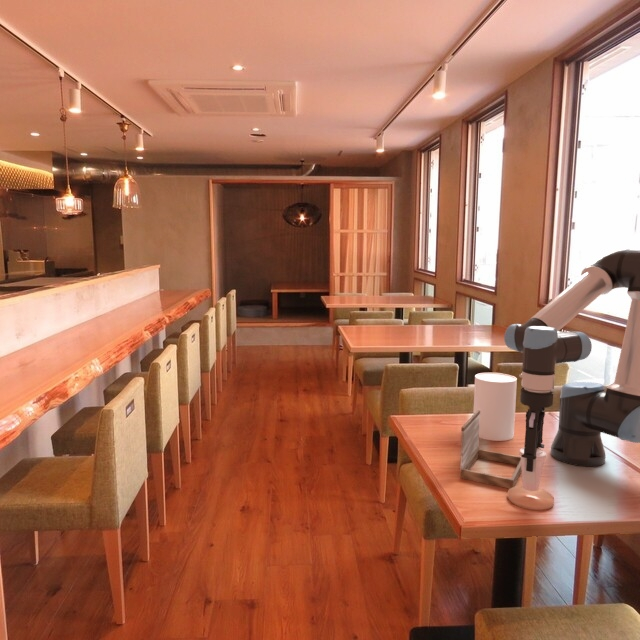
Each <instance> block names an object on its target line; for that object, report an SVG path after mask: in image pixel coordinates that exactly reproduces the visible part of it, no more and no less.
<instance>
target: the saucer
mask: <svg viewBox="0 0 640 640" xmlns="http://www.w3.org/2000/svg"><path fill="white" fill-rule="evenodd" d="M507 499H508V501H509V502H511V504H513V505H515V506H517V507H519V508H522V509H525V510H530V511H547V510H550V509H551V508H553V507H554V505H555V498H554V496H553V495H552V494H551V493H550V492H548V491H546V490H544V489H542V488H540V487H539V488H538V490H537V491H528V490H525V489H524V488H523V485H515V486H514V487H512V488H510V489H509V488H508V491H507Z"/></svg>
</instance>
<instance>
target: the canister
mask: <svg viewBox="0 0 640 640" xmlns="http://www.w3.org/2000/svg"><path fill="white" fill-rule="evenodd" d="M517 380H518V378H517V377H516V376H514V375H510V374H506V373H501V372H480V373H477V374H475V375H474V390H473V391H474V393H473V414H472V415H474V414H475V412H476V411H477V410H480V419H479V439H483V440H487V441H494V442H506V441H509V440H512V439H513V438H514V437H515V422H516V421H515V418H516V402H517V401H516V400H517V384H518V383H517V382H518V381H517Z"/></svg>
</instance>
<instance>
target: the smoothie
mask: <svg viewBox="0 0 640 640" xmlns="http://www.w3.org/2000/svg"><path fill="white" fill-rule="evenodd" d="M523 454H524V447H521V448H520V449H519V453H518V456H520V457H521V470H522V472H521V477H522V478H521V480H522V481H521V483H522V486H523V488H524V489H525V490H528V491H537V490H538V488H539V489H540V484H541V483H540V482H541V477H542V473H543V467H544V464H545V459H546V458H547V452H546V451H545V450H543V449H542V448H539V449H537V451H536V458H537V464H536V479H535V484H531V483H526V482H523V478H524V461H525V458H524V457H522V455H523Z"/></svg>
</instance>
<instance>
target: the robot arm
mask: <svg viewBox="0 0 640 640" xmlns="http://www.w3.org/2000/svg"><path fill="white" fill-rule="evenodd" d="M619 288H620V289H621V288H627V294H628V296H629V298H630V299H631V301H630V308H629V312H628V316H627V321H626V326H625V331H624V334H623V335H624V336H623V340H622V345H621V350H620V354H619V357H618V358H619V359H618V363H617V368H616V372H615V373H616V374H615V377H614V381H613V382H612V383H611V384H609V385H608V386H607V387H606V388H605V385H604V384H602V383H598V382H591V381H590V382H588V381H582V382H580V381H579V382H577V381H575V382H569V383H568V382H567V383H565V384H563V386H562V387H561V390H560V396H559V411H558V413H559V414H558V415H559V416H558V430H557V433H556V434H555V436H554V438H553V441H552V442H551V443H552V444H551V445H550V455H551V456H552V457H553V458H555V459H556V460H559V461H560V462H563V463H566V464H570V465H575V466H579V467H599V466H601V465H604V464H605V462H606V455H607V454H606V450H605V447H604V444H603V440H602V437H601V433H602V434H606V435H609V436H612V437H614V438H618V439H619V440H621V441H626V442H630V443H634V444H640V247H623V248H617V249H616V250H612V251H610V252H607V253H606V254H604V255H602V256H600V257H598V258H596V259H595V260H594V261H592V262H590V264H588V265H587V266H586V267H584V268H583V269H582V271H581V274H580V276H579V277H578V278H577V279H576V280H575V281H574V282H572V283H571V284H569V286H567V287H566V288H565V289H563V291H561V292H560V293H559V294H558V295H556V297H554V298H553V299H551V300H550V301H549V302H548V303H547V304H546V305H545V306H544V307H542V308H541V309H539V311H537V312H536V313H535V314H534V315H533V316H531V318H529V319H528V320H527V321H526V322H525V323H522V324H521V323H513V324H510V325H508V326H507V328H506V329H505V332H504V338H503V339H504V343H505V345H506V347H507V348H508V349H510V350H513V351H516V352H518V353H521V354H522V369H521V373H519V375H518V377H519V378H521V387H522V388H521V389H520V396H519V397H520V399H519V400H520V404H522V405H524V406H527V407H529V408H527V411H526V413H525V433H524V434H525V435H524V446H523V448H524V454H523V455H522V457H524V458H525V461H524V478H523V482H526V483H531V484H535V479H536V464H537V458H536V451H537V449H544V448H545V444H543V431H544V421H545V420H544V419H545V415H546V411H545V409H546V408H547V409H548V408H550V407H552V406H553V404H554V403H553V402H554V392H553V390H554V389H555V379H556V377H555V376H556V374H555V373H556V365H557V364H563V363H574V362H579V361H582V360H585V359H587V358H588V357H589V356H590V354H591V353H592V347H593V346H592V341H591V338H590V337H589V336H588V335H587V334H586V333H585V332H582V331H574V330H571V331H561V329H563V328H564V327H565V326H566V325H568V323H570V322H571V321H572V320H573V319H574V318H575V317H577V316H578V315H579V314H580V313H581V312H582V311H583V310H584V309H586V308H587V307H589V305H590V304H592V303H593V302H594V301H595V300H596V299H597V298H598V297H600V296H601V295H607V294H608V293H610V292H611V291H612V290H615V289H619Z"/></svg>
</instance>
